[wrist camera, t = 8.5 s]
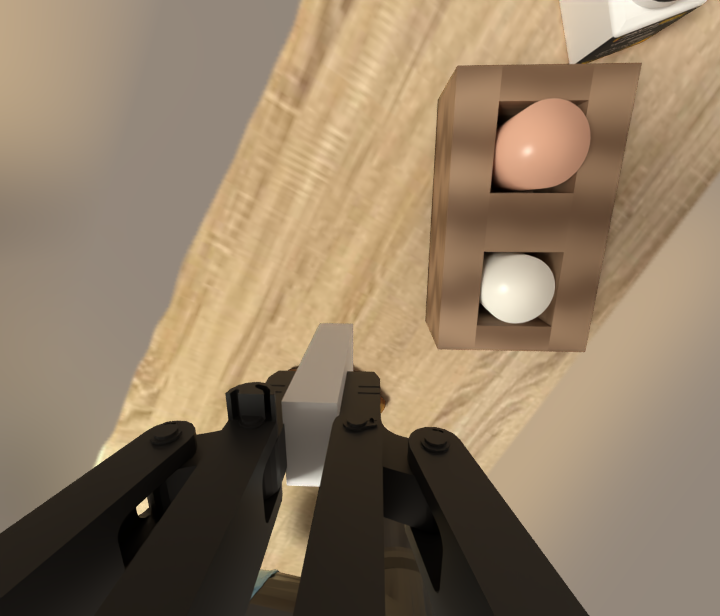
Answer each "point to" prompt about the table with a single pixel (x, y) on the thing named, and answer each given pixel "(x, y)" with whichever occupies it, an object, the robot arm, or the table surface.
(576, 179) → the wooden egg holder
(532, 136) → the pink egg shaped ball
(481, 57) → the table surface
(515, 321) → the white egg in box
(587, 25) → the medicine bottle
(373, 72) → the table surface
